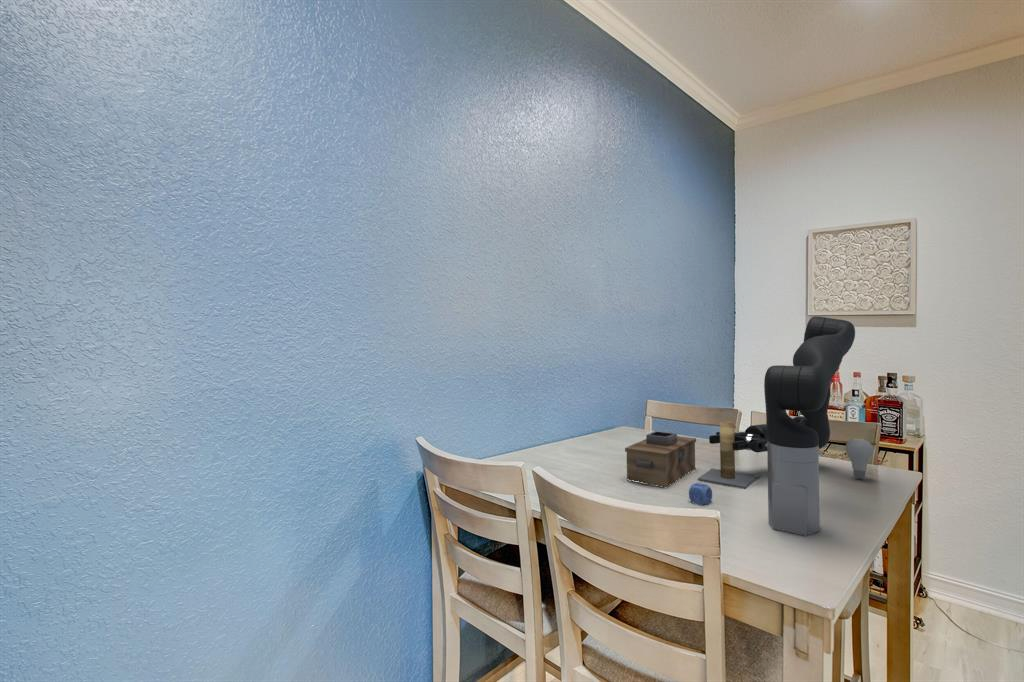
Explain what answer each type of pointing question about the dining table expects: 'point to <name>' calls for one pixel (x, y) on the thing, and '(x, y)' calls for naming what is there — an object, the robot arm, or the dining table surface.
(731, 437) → the pin
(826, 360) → the robot arm
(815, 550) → the dining table surface
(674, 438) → the dark grey square tray
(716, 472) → the mat
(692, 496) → the decorative dice
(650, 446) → the toolbox
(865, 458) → the lightbulb
